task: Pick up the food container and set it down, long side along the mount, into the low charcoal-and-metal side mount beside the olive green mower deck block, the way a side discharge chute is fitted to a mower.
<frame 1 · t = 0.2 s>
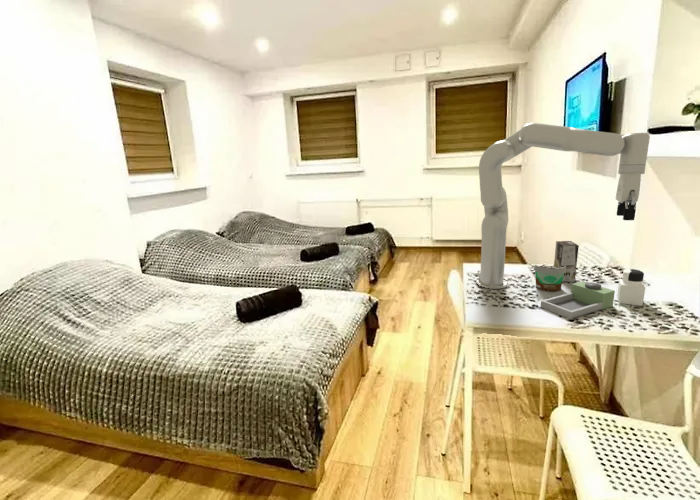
hand: (624, 217, 136), 31 cm above the table, tool pointing down, fingers open, 9 cm apart
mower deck: (571, 308, 135), on the table
medicine bottle: (629, 301, 139), on the table
food container: (550, 290, 153), on the table
coffee box: (563, 278, 166), on the table
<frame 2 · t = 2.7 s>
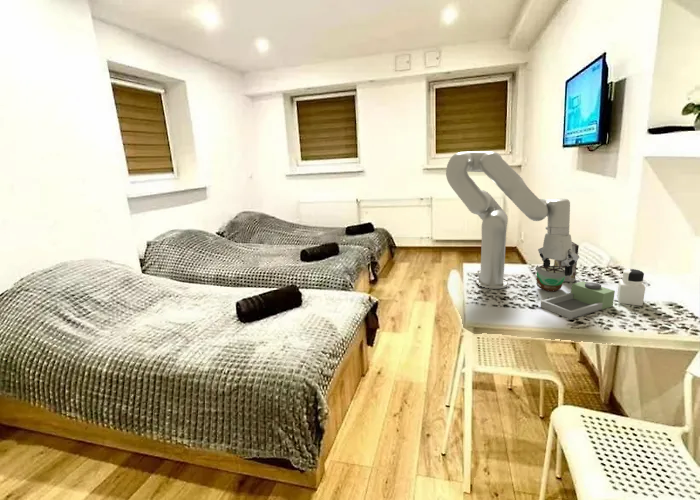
hand: (557, 272, 151), 8 cm above the table, tool pointing down, fingers open, 9 cm apart
food container: (550, 289, 153), on the table, touching gripper
everything else where it was.
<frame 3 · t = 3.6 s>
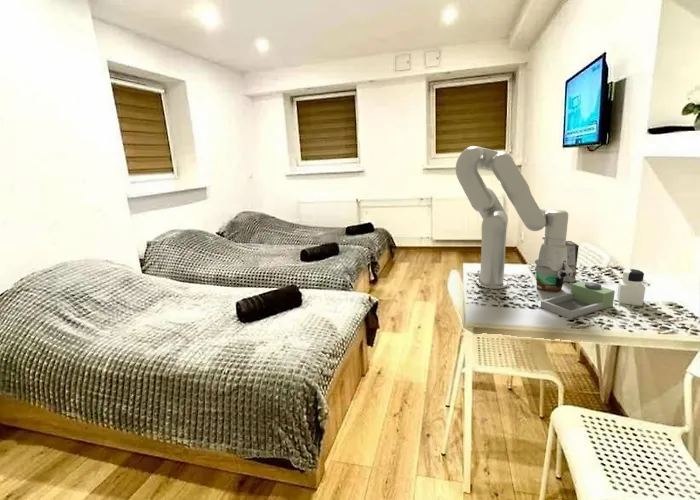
hand: (550, 283, 153), 3 cm above the table, tool pointing down, fingers closed on food container, 6 cm apart
food container: (551, 291, 153), on the table, touching gripper
everything else where it was.
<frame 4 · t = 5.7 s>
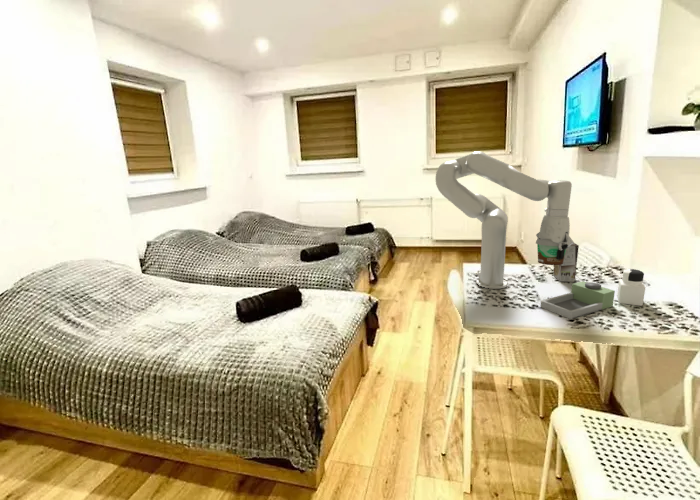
hand: (551, 256, 150), 14 cm above the table, tool pointing down, fingers closed on food container, 6 cm apart
food container: (553, 264, 150), point 11 cm above the table, touching gripper
everything else where it was.
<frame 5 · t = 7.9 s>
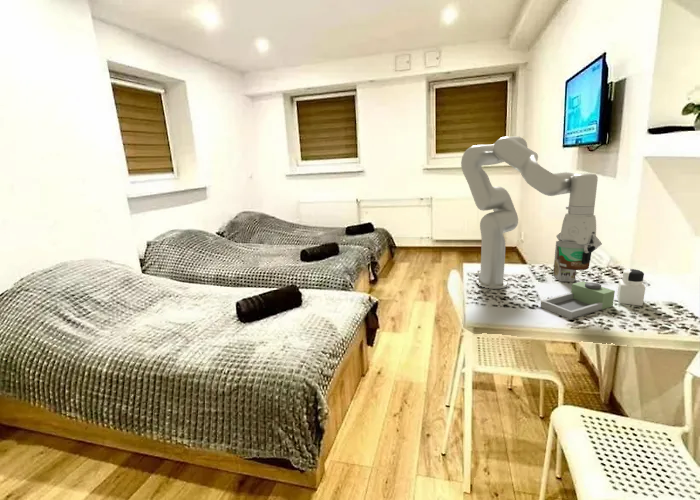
hand: (575, 260, 132), 18 cm above the table, tool pointing down, fingers closed on food container, 6 cm apart
food container: (577, 269, 131), point 15 cm above the table, touching gripper
everything else where it was.
when the fingers open (5 cm above the table, at t = 11.1 s): food container drops 1 cm, resting on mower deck.
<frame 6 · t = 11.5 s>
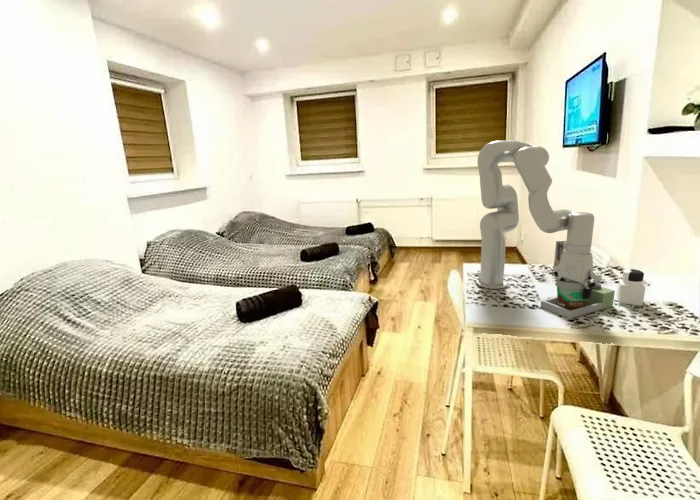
hand: (573, 294, 134), 5 cm above the table, tool pointing down, fingers open, 9 cm apart
food container: (575, 308, 134), resting on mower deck, touching gripper
everything else where it was.
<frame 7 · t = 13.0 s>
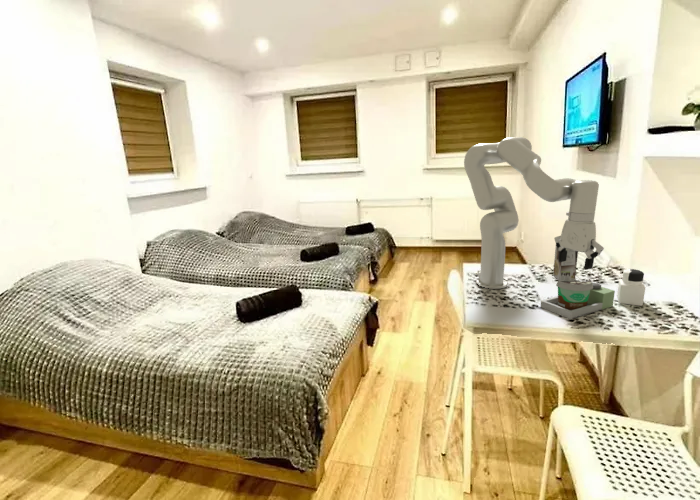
hand: (574, 265, 132), 16 cm above the table, tool pointing down, fingers open, 9 cm apart
food container: (575, 309, 134), resting on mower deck
everything else where it was.
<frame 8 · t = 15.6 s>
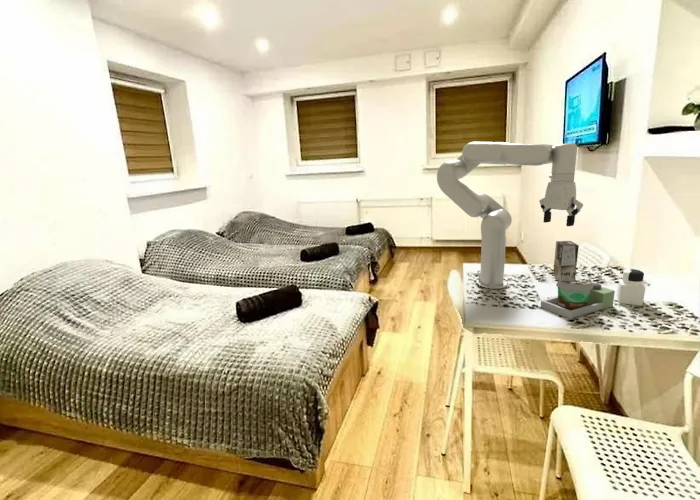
hand: (558, 223, 142), 28 cm above the table, tool pointing down, fingers open, 9 cm apart
nothing on the table moved.
at the end: food container 1.7 cm off-centre on the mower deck, point 0.2 cm above the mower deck's base; food container tilted 0°; the gripper is holding nothing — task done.
